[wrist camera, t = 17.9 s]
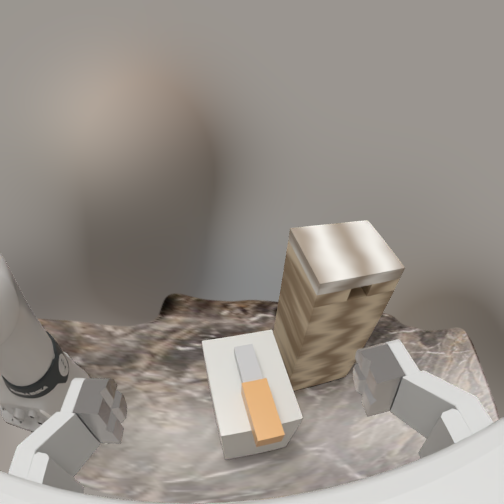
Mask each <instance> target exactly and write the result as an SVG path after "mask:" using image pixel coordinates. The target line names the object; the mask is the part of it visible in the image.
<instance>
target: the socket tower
mask: <svg viewBox="0 0 504 504" xmlns="http://www.w3.org/2000/svg"><path fill="white" fill-rule="evenodd" d="M404 269H405V267H404V266H403V264H402V263H401V262H400V260H399V259H398V258H397V256H396V255H395V254H394V252H393V251H392V250H391V249H390V247H389V246H388V245H387V243H386V242H385V241H384V240H383V238H382V237H381V236H380V235H379V234H378V232H377V231H376V230H375V229H374V227H373V226H372V225H371V224H370V222H369V221H367V220H366V221H356V222H346V223H336V224H327V225H316V226H307V227H298V228H290V233H289V240H288V246H287V252H286V259H285V265H284V272H283V278H282V284H281V291H280V296H279V302H278V308H277V314H276V320H275V326H274V332H273V334H274V337H275V340H276V343H277V346H278V349H279V351H280V354H281V357H282V360H283V363H284V366H285V369H286V371H287V374H288V377H289V380H290V383H291V386H292V389H293V391H295V390H299V389H303V388H307V387H311V386H315V385H318V384H322V383H326V382H329V381H333V380H336V379H339V378H343V377H346V375H347V374H348V372H349V371H350V369H351V367H352V366H353V364H354V362H355V361H356V359H355V355H356V351H357V350H358V349H361V348H363V347H364V346H365V344H366V342H367V340H368V339H369V337H370V335H371V333H372V331H373V330H374V328H375V326H376V324H377V322H378V321H379V319H380V317H381V315H382V313H383V311H384V309H385V307H386V306H387V304H388V301H389V300H390V298H391V296H392V294H393V292H394V290H395V288H396V285H397V283H398V282H399V280H400V277H401V275H402V273H403V271H404Z"/></svg>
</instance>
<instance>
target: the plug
mask: <svg viewBox="0 0 504 504" xmlns="http://www.w3.org/2000/svg"><path fill="white" fill-rule="evenodd" d="M234 356H235V360H236V364H237V368H238V371H239V375H240V379H241V383H242V386H241V394H242V398H243V401H244V405H245V409H246V412H247V416H248V420H249V423H250V427H251V430H252V434H253V437H254V441H255V444H256V447H259V446H263V445H268V444H272V443H276V442H280V441H282V439H283V437H284V435H285V433H284V430H283V427H282V424H281V421H280V418H279V415H278V412H277V409H276V406H275V403H274V400H273V397H272V393H271V390H270V387H269V384H268V381H267V378H264V379H263V377H262V374H261V370H260V367H259V364H258V361H257V357H256V354H255V351H254V348H253V344H248V345H242V346H237V347H234Z"/></svg>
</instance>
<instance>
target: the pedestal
mask: <svg viewBox="0 0 504 504" xmlns="http://www.w3.org/2000/svg"><path fill="white" fill-rule="evenodd" d="M248 344H253V348H254V351H255V354H256V357H257V361H258V364H259V367H260V370H261V374H262V377H263V379H264V378H267V381H268V384H269V387H270V390H271V393H272V397H273V400H274V403H275V406H276V409H277V412H278V415H279V418H280V421H281V424H282V427H283V430H284V433H285V435H284V437H283V439H282V441H280V442H276V443H272V444H268V445H263V446H259V447H256V444H255V441H254V437H253V434H252V430H251V427H250V423H249V420H248V416H247V412H246V409H245V405H244V401H243V398H242V394H241V386H242V383H241V379H240V375H239V371H238V368H237V364H236V360H235V356H234V347H237V346H242V345H248ZM202 346H203V353H204V359H205V365H206V372H207V378H208V384H209V389H210V394H211V399H212V404H213V409H214V413H215V418H216V423H217V427H218V432H219V436H220V440H221V445H222V449H223V453H224V457H225V460H227V459H233V458H238V457H243V456H248V455H253V454H258V453H262V452H267V451H271V450H275V449H279V448H283V447H286V445H287V444H288V442H289V441H290V439H291V437H292V436H293V434H294V432H295V431H296V429H297V427H298V426H299V424H300V422H301V421H302V419H303V417H302V414H301V411H300V408H299V406H298V403H297V400H296V397H295V394H294V391H293V389H292V386H291V383H290V380H289V377H288V374H287V371H286V369H285V366H284V363H283V360H282V357H281V354H280V351H279V349H278V346H277V343H276V340H275V337H274V334H273V331H272V330H267V331H261V332H256V333H250V334H244V335H238V336H232V337H226V338H219V339H213V340H206V341H202Z"/></svg>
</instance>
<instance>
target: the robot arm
mask: <svg viewBox="0 0 504 504" xmlns="http://www.w3.org/2000/svg"><path fill="white" fill-rule="evenodd" d="M355 359H356V361H357V364H356V365H355V366H354V367H353V381H354V385H355V388H356V391H357V392H358V393H359V394H361V395H363V397H362V401H361V403H362V405H363V407H364V410H365V412H366V414H367V417H368V416H372V415H376V414H380V413H384V412H387V411H390V412H391V413H393V414H394V415H395V416H397V417H398V418H399V419H401V420H402V421H403V422H405V423H406V424H407V425H409V426H410V427H411V428H413V429H414V430H416V431H417V432H418V433H420V434H421V435H423V436H424V437H425V438H427V439H426V441H425V443H424V444H423V446H422V447H421V449H420V451H419V452H418V453H419V456H420V458H421V459H418V460H416V461H413V462H411V463H408V464H405V465H403V466H400V467H397V468H394V469H392V470H389V471H386V472H383V473H380V474H376V475H373V476H370V477H367V478H363V479H360V480H356V481H353V482H349V483H345V484H341V485H337V486H333V487H329V488H325V489H320V490H315V491H310V492H305V493H300V494H294V495H288V496H282V497H275V498H267V499H259V500H249V501H238V502H222V503H160V502H144V501H133V500H124V499H116V498H108V497H101V496H95V495H90V494H84V493H83V491H84V487H83V485H82V484H81V483H80V482H78V481H77V480H76V479H75V478H74V476H75V475H76V473H77V472H78V471H79V470H80V469H81V467H82V466H83V465H84V464H85V462H86V461H87V460H88V459H89V457H90V456H91V455H92V454H93V452H94V451H95V450H96V449H97V447H98V446H99V445H100V443H117V444H121V440H122V435H123V430H124V428H123V426H122V425H121V423H122V422H123V421H124V420H125V419H126V415H127V404H126V400H125V398H124V396H123V394H122V393H120V392H119V391H117V390H116V389H117V384H116V382H115V381H114V379H102V378H90V377H89V376H88V374H87V373H86V372H85V371H84V370H83V369H82V368H81V367H79V366H78V365H76V364H75V363H74V362H73V361H72V359H71V358H70V356H69V355H68V354H67V353H66V352H63V351H62V350H61V348H60V347H59V345H58V344H57V342H56V341H55V340H54V338H53V337H52V336H51V335H50V334H49V333H48V332H47V331H45V330H44V328H43V327H42V325H41V324H40V322H39V321H38V319H37V318H36V316H35V315H34V313H33V311H32V310H31V308H30V307H29V305H28V303H27V301H26V299H25V297H24V295H23V293H22V292H21V290H20V288H19V286H18V284H17V282H16V280H15V278H14V276H13V274H12V273H11V271H10V268H9V267H8V265H7V263H6V261H5V259H4V258H3V256H2V254H1V253H0V410H1V415H2V417H3V420H4V421H5V422H6V423H8V424H11V425H13V426H16V427H19V428H23V429H26V430H29V431H31V432H33V433H32V434H31V435H29V436H28V437H27V438H26V439H25V440H24V441H22V442H21V443H20V444H19V445H18V446H17V448H16V451H15V454H14V457H13V460H12V463H11V466H10V469H9V472H8V473H6V472H3V471H0V504H504V417H502V418H501V419H499V420H497V421H496V422H494V423H493V421H492V420H491V418H490V416H489V415H488V413H487V412H486V410H485V408H484V407H483V405H482V404H481V402H480V401H479V399H478V398H477V396H475V395H473V394H471V393H469V392H467V391H465V390H463V389H461V388H458V387H456V386H454V385H452V384H450V383H448V382H446V381H444V380H442V379H440V378H438V377H436V376H434V375H432V374H430V373H428V372H426V371H424V370H423V371H420V370H419V368H418V367H417V365H416V364H415V362H414V361H413V359H412V358H411V356H410V354H409V353H408V351H407V350H406V348H405V347H404V345H403V344H402V342H401V341H400V340H398V339H397V340H394V341H390V342H386V343H381V344H378V345H374V346H370V347H366V348H361V349H358V350H357V351H356V355H355ZM4 409H5V410H4Z"/></svg>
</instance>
